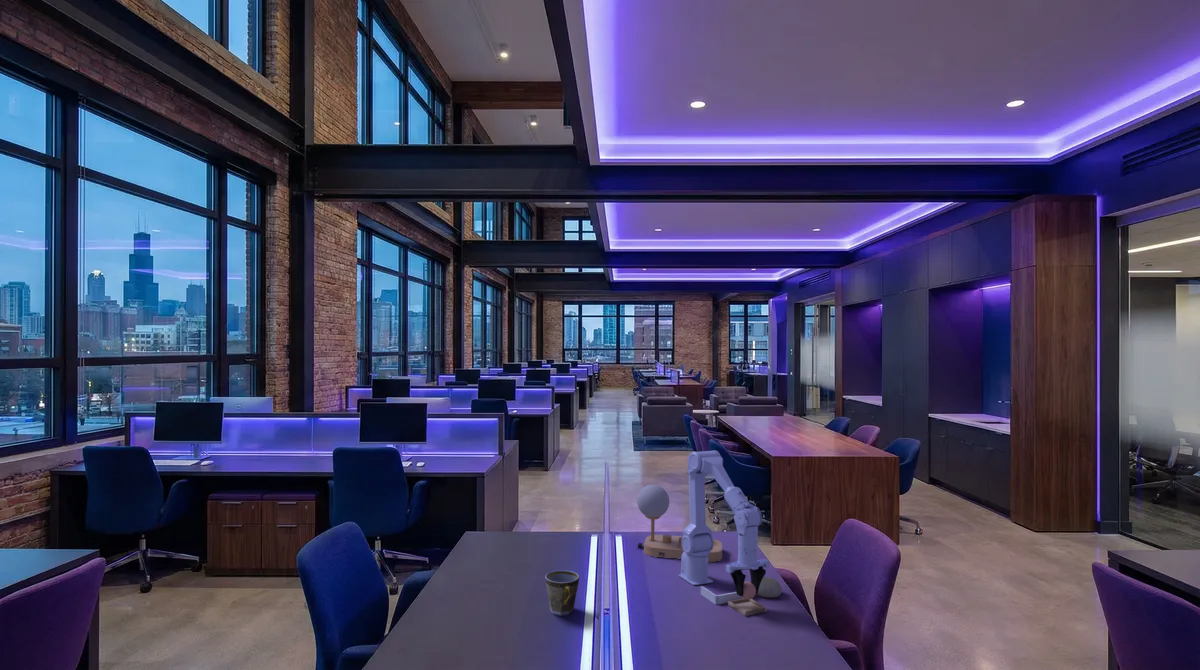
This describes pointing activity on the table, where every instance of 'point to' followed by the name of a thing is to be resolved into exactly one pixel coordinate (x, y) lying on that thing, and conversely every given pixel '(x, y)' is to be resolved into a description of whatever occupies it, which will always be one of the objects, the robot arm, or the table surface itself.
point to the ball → (748, 590)
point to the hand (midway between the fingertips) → (747, 593)
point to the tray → (747, 606)
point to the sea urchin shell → (769, 588)
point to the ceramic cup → (562, 591)
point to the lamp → (653, 507)
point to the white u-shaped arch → (719, 596)
